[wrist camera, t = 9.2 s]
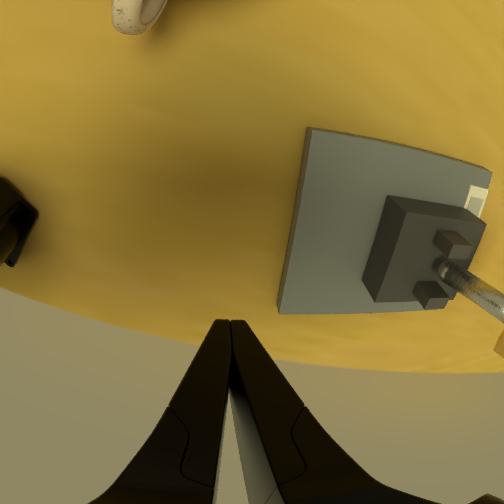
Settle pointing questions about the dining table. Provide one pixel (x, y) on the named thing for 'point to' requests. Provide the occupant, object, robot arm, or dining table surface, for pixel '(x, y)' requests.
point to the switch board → (378, 226)
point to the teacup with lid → (136, 15)
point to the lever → (475, 293)
